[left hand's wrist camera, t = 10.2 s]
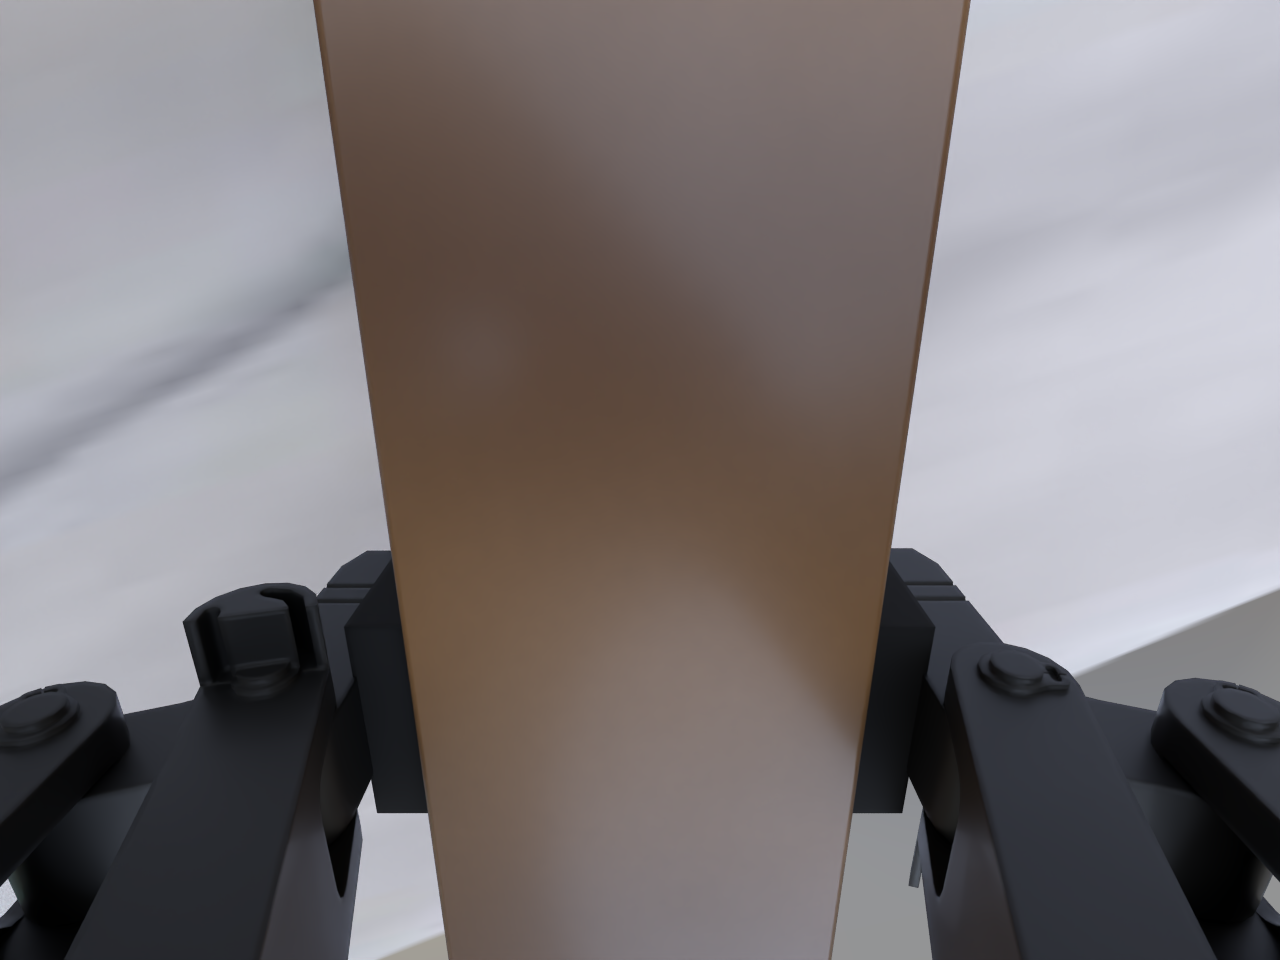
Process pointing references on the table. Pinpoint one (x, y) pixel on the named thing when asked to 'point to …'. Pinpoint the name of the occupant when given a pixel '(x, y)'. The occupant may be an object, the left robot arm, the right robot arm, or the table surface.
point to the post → (641, 437)
